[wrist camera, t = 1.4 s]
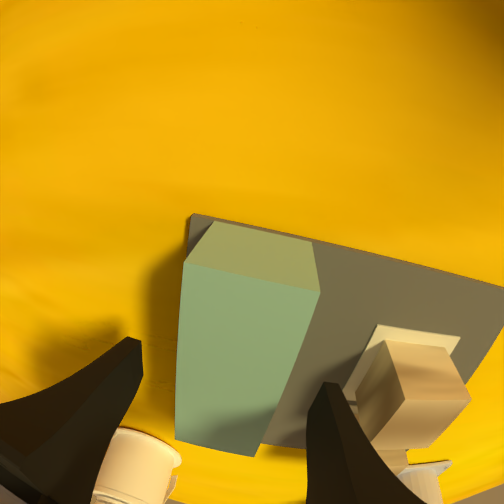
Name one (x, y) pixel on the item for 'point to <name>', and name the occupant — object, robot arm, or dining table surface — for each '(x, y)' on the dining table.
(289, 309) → the lintel
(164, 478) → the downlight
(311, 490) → the robot arm
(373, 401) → the pillar
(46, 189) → the dining table surface
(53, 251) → the dining table surface
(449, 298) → the mat
